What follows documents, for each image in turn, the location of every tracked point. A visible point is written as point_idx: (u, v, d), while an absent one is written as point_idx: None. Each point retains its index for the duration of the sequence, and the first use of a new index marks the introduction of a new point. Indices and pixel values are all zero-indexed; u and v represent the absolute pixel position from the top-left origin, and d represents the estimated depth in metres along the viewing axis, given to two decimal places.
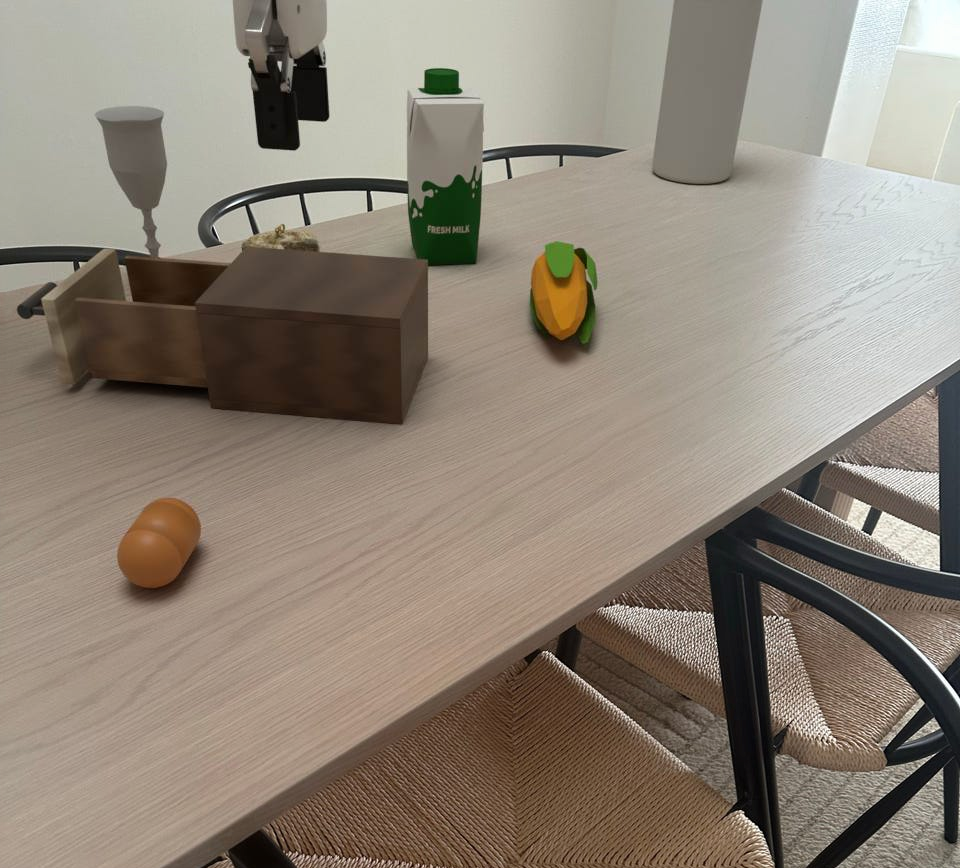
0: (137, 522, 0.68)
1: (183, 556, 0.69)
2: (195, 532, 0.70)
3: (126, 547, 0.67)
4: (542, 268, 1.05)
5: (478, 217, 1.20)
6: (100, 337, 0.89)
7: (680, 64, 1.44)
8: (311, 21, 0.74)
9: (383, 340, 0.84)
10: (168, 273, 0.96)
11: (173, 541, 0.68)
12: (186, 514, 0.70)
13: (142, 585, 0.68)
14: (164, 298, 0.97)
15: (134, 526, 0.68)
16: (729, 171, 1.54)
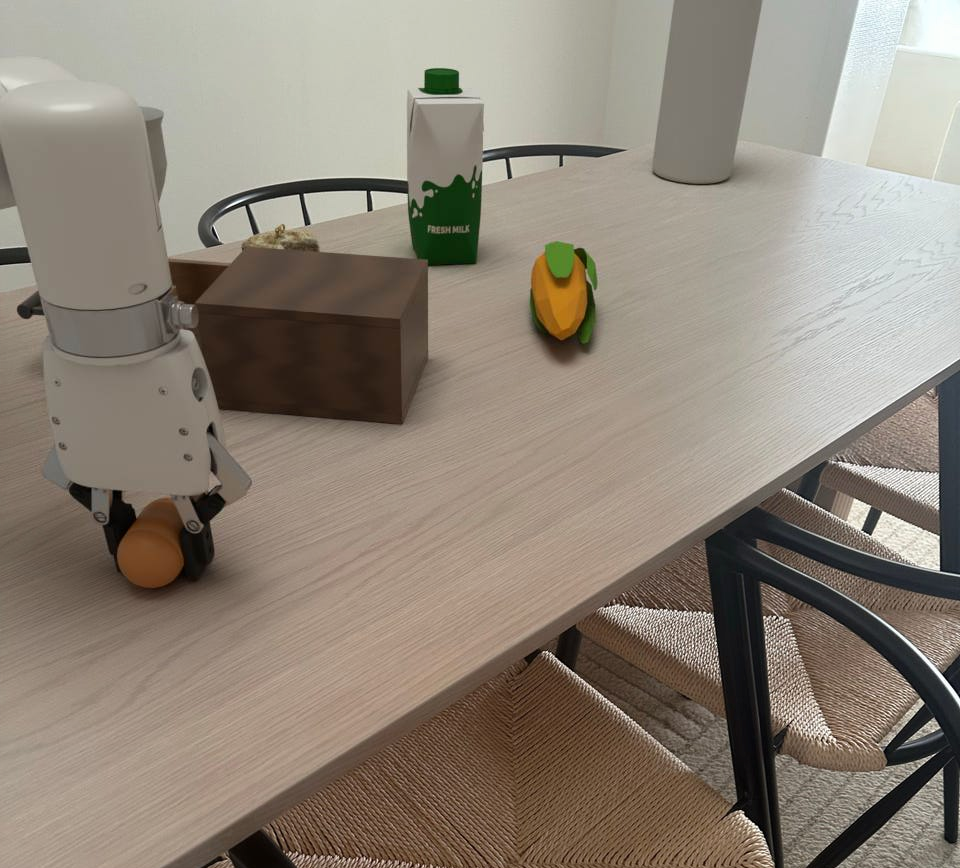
0: (137, 522, 0.68)
1: None
2: None
3: (126, 547, 0.67)
4: (542, 268, 1.05)
5: (478, 217, 1.20)
6: None
7: (680, 64, 1.44)
8: (108, 466, 0.64)
9: (383, 340, 0.84)
10: None
11: (173, 541, 0.68)
12: None
13: (142, 585, 0.68)
14: None
15: (134, 526, 0.68)
16: (729, 171, 1.54)
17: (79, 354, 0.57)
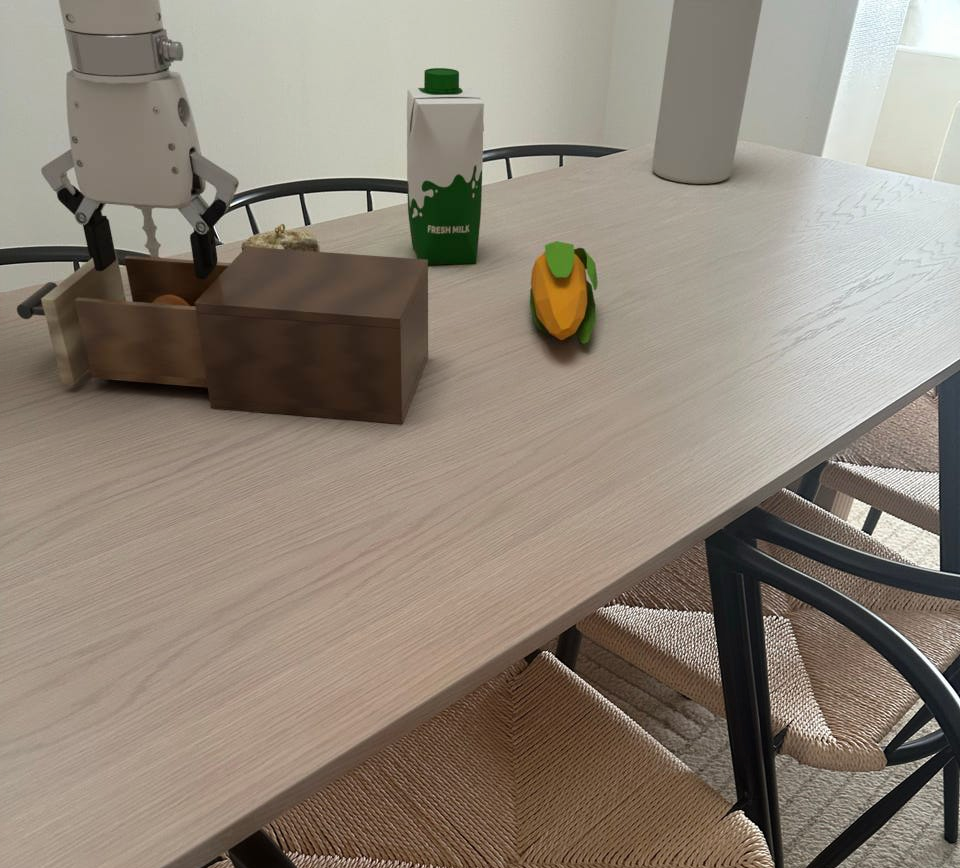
0: None
1: None
2: None
3: None
4: (542, 268, 1.05)
5: (478, 217, 1.20)
6: (100, 337, 0.89)
7: (680, 64, 1.44)
8: (114, 180, 0.83)
9: (383, 340, 0.84)
10: (168, 273, 0.96)
11: None
12: (181, 303, 0.94)
13: None
14: None
15: None
16: (729, 171, 1.54)
17: (94, 73, 0.77)
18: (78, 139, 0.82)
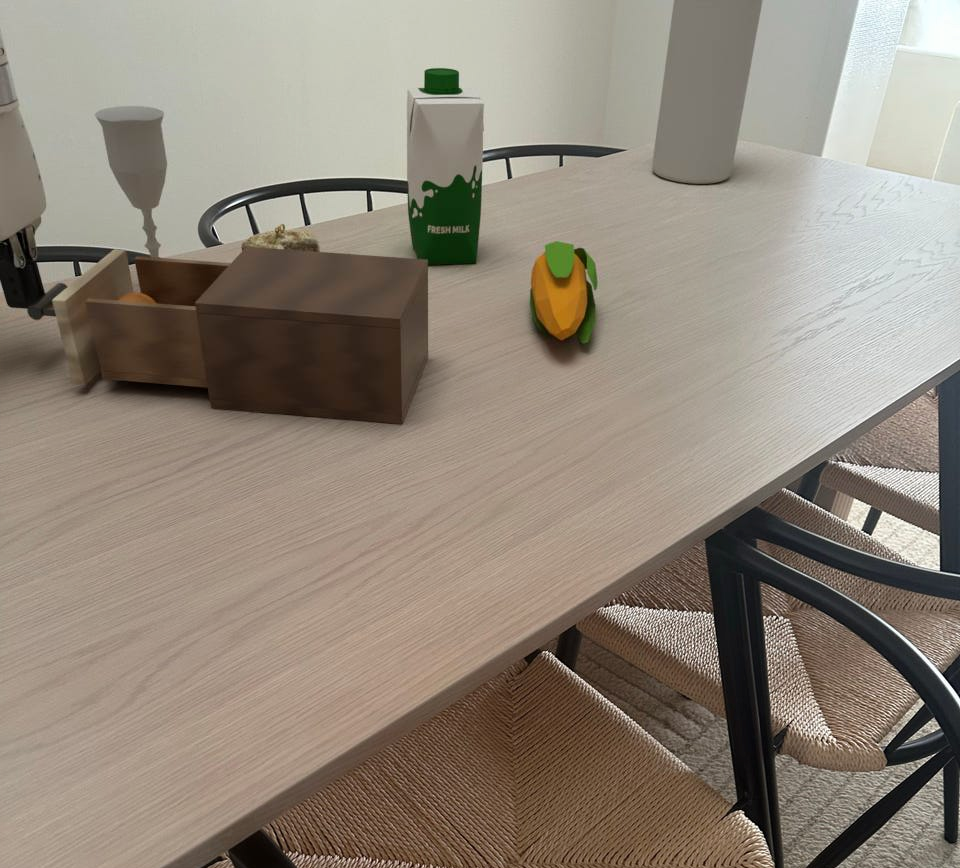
0: None
1: None
2: None
3: None
4: (542, 268, 1.05)
5: (478, 217, 1.20)
6: (111, 338, 0.89)
7: (680, 64, 1.44)
8: (16, 208, 0.87)
9: (383, 340, 0.84)
10: (178, 273, 0.96)
11: None
12: None
13: None
14: (174, 299, 0.97)
15: None
16: (729, 171, 1.54)
17: (8, 102, 0.82)
18: None
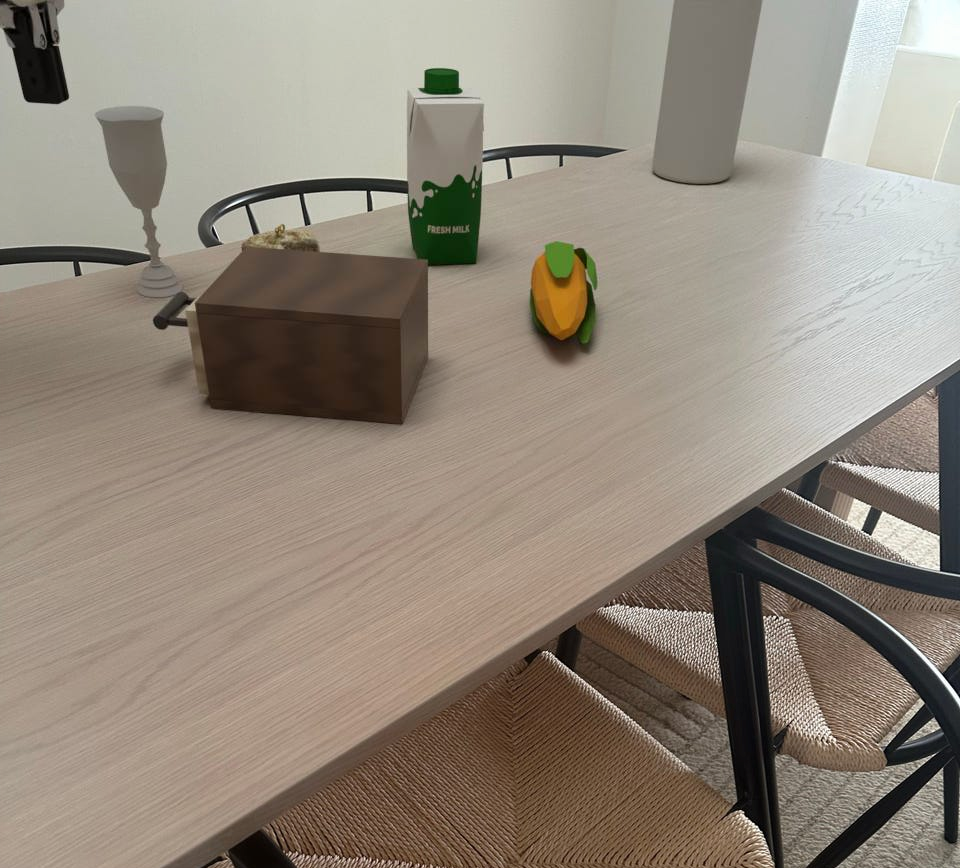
0: None
1: None
2: None
3: None
4: (542, 268, 1.05)
5: (478, 217, 1.20)
6: None
7: (680, 64, 1.44)
8: None
9: (383, 340, 0.84)
10: None
11: None
12: None
13: None
14: None
15: None
16: (729, 171, 1.54)
17: None
18: None
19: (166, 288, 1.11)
